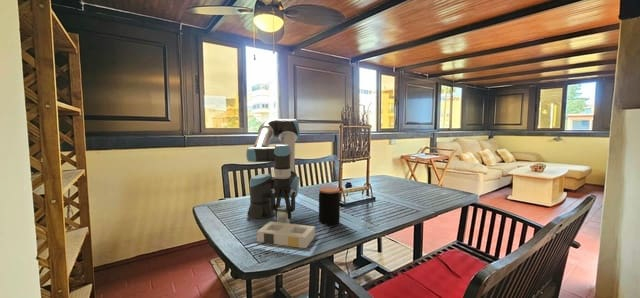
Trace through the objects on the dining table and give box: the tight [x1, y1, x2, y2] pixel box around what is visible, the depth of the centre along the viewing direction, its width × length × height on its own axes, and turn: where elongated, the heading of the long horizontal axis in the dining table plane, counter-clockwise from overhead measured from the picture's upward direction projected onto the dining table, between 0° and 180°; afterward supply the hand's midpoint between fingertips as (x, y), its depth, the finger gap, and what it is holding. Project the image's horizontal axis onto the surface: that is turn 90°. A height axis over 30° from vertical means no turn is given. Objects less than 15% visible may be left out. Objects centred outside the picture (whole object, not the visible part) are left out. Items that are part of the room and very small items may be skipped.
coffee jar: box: [318, 186, 341, 227], centre depth 142 cm, size 11×11×18 cm
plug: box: [277, 204, 287, 223], centre depth 133 cm, size 4×4×10 cm
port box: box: [256, 221, 316, 253], centre depth 120 cm, size 22×12×6 cm, turn 73°
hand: (283, 224), depth 133 cm, fingers closed on plug, 4 cm apart
